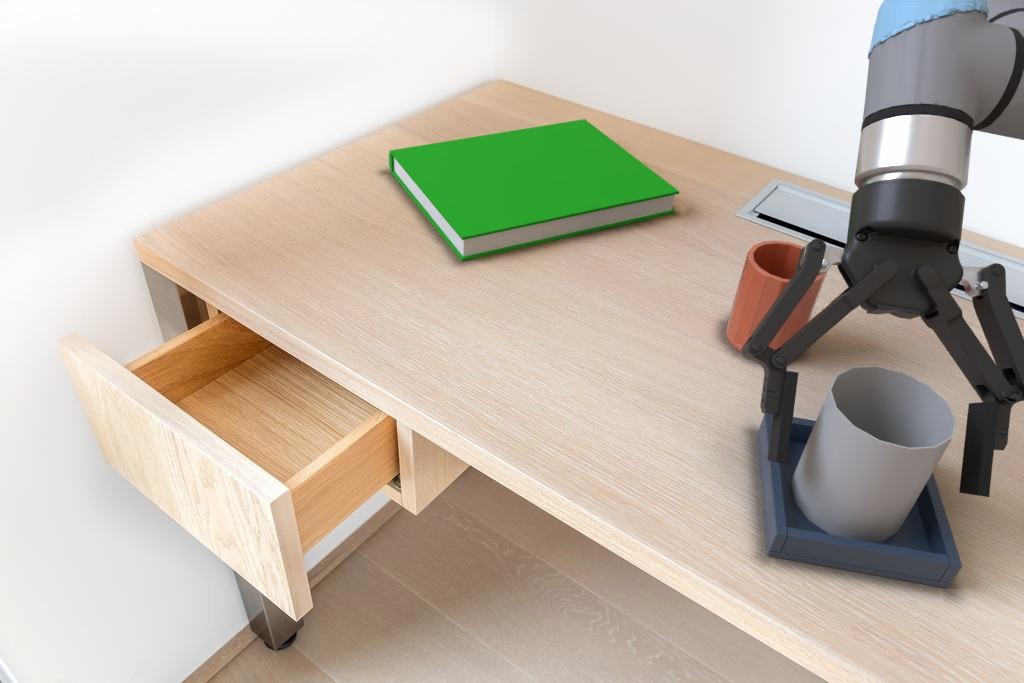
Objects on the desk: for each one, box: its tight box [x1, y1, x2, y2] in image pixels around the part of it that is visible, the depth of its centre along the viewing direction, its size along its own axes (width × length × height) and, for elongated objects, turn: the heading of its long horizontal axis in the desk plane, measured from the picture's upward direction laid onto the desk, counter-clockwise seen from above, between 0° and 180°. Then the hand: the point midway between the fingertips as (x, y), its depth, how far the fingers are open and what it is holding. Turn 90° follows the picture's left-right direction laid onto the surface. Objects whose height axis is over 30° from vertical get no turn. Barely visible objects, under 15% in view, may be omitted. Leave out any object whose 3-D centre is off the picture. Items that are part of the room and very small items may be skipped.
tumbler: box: [725, 240, 828, 353], centre depth 75 cm, size 7×7×9 cm
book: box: [388, 118, 680, 262], centre depth 97 cm, size 22×28×3 cm
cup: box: [790, 365, 957, 542], centre depth 58 cm, size 8×8×10 cm
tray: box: [756, 413, 963, 589], centre depth 61 cm, size 13×13×3 cm
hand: (873, 479), depth 57 cm, fingers open, 13 cm apart
